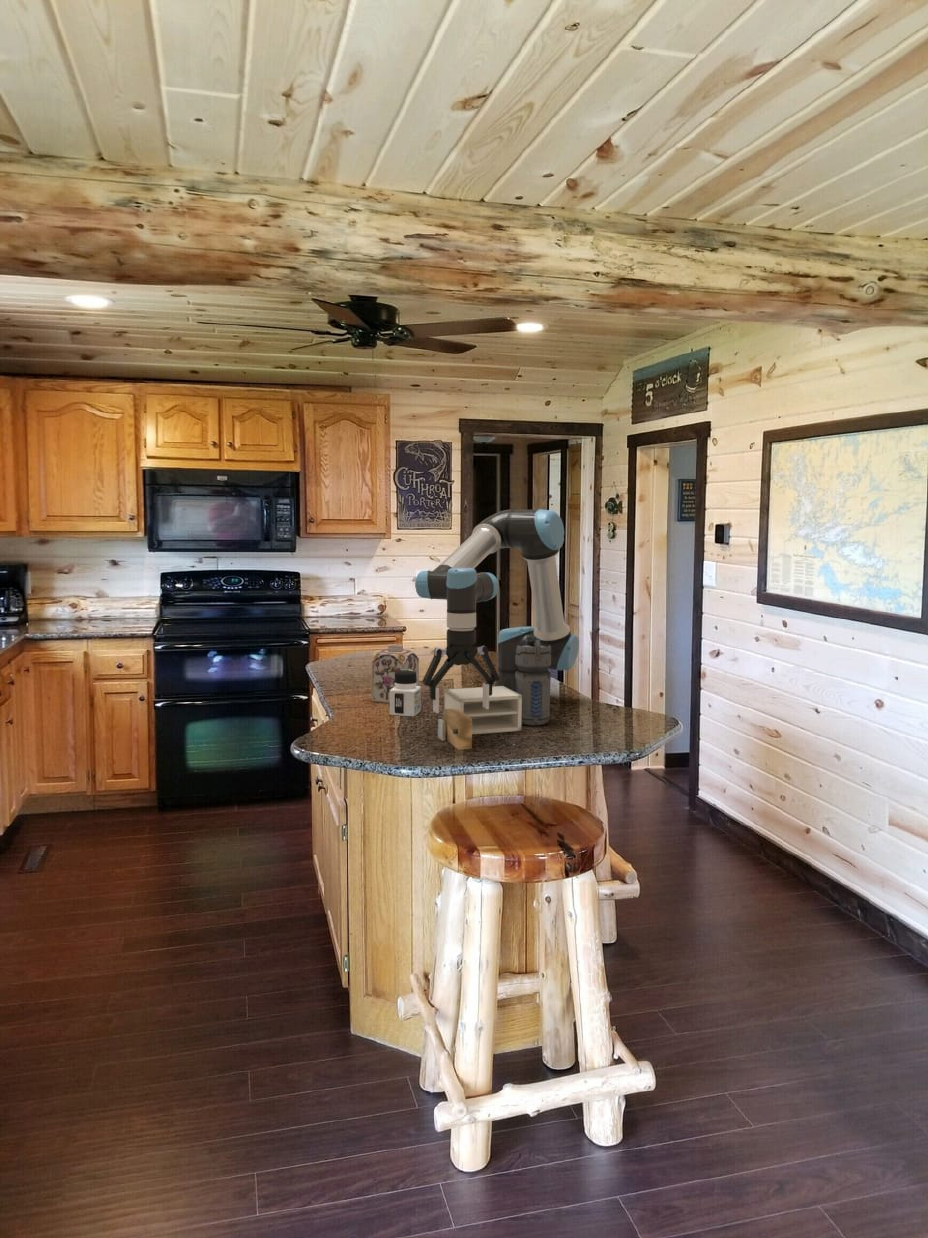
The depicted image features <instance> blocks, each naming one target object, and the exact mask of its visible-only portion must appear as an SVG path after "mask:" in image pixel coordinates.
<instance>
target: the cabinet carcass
mask: <svg viewBox="0 0 928 1238" xmlns="http://www.w3.org/2000/svg"><path fill="white" fill-rule="evenodd" d="M443 690H444V691H443V692H444V693H443V696H444V697H443V715H444V714H445V709H459V710H460V711H462V712H463V713H465V714H466V715H468V716H469V717H471V718H472V735H481V734H482V735H483V734H495V733H507V732H522V724H521V715H522V695H520V694H518V693H516V692H514V691H512V690H510V689H508V688H506V687H504V686H493V685H492V695H491V696H489V709H485V708H484V707H483V686H477V687H458V688H445V689H443Z"/></svg>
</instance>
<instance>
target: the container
mask: <svg viewBox="0 0 928 1238" xmlns="http://www.w3.org/2000/svg"><path fill="white" fill-rule="evenodd" d="M421 699H422V687H421V686H420V685H419V686H416V672H415V671H413V670H398V671H396V672H395V687H394V688H392V689H391V690H390V703H389V715H390V716H400V717H401V716H403V717H415V716H417V715H418V714H419V713H420V712H421V710H422V706H421V705H422V700H421Z"/></svg>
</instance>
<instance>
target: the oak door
mask: <svg viewBox="0 0 928 1238" xmlns="http://www.w3.org/2000/svg"><path fill="white" fill-rule="evenodd" d="M443 719H444V721H445V722H446V727H445V741H447V742H448V743H449V744H451V745H452V746H453V747H455V748H456V749H457V750H458V751H462V750H472V749H473V734H472V718H471V717H469V716H468V715H466V714H465V713H463V712H462V711H460V710H459V709H445V714H444V713H443Z"/></svg>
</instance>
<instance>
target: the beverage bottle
mask: <svg viewBox="0 0 928 1238" xmlns="http://www.w3.org/2000/svg"><path fill="white" fill-rule="evenodd" d="M534 644H535V645H534ZM515 661H516V665H517V667H518V669H519V670H517V671H516V672H515V692H516V693H518V694H520V695H522V715H521V725H524V726H532V727H533V726H542V725H545V724H547V723H548V722H549V721H550V715H551V713H550V712H551V677H552V675H551V674H552V673H551V671H549V670H550V669H549V667H550V666H551V646H550V645H549V646H548V647H545V646H540V639H535V641H534V638H532V637H531V636H530V637H526V639H525V646H519V645H518V646H517V649H516V656H515Z"/></svg>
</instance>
